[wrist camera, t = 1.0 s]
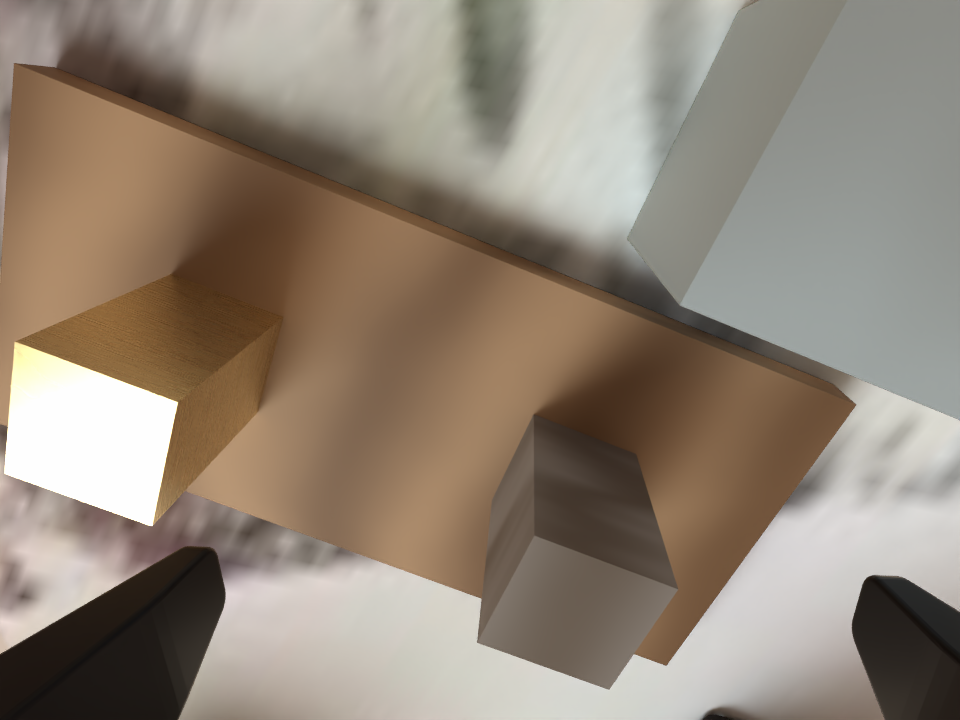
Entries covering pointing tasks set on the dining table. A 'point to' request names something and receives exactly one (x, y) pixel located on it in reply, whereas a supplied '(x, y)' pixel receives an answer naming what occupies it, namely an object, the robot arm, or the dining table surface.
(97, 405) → the tan wooden block
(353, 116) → the dining table surface
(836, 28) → the matte gray-blue cube
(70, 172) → the stand
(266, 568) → the dining table surface
